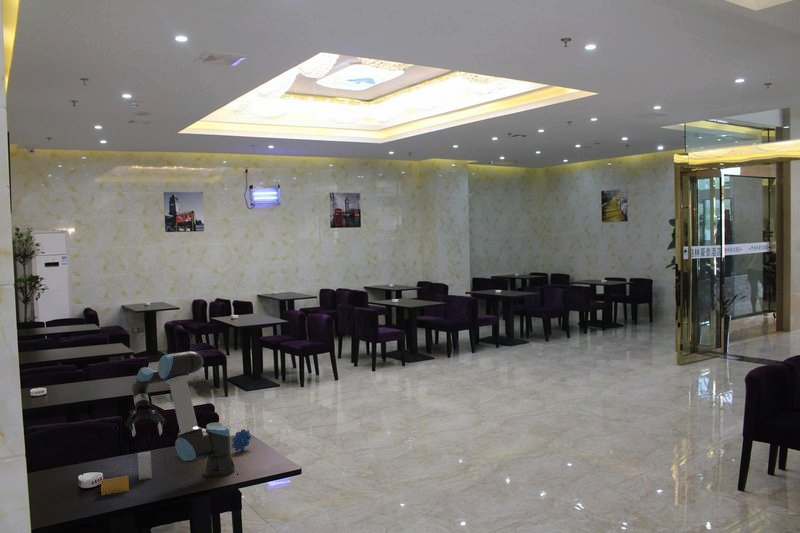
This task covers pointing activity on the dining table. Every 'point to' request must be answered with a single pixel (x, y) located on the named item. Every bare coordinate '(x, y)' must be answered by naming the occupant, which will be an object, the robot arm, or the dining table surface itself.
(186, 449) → the robot arm
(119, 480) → the orange rectangular block
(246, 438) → the grapes
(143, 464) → the aluminium block
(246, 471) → the dining table surface
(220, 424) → the mug
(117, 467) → the dining table surface
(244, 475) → the dining table surface
